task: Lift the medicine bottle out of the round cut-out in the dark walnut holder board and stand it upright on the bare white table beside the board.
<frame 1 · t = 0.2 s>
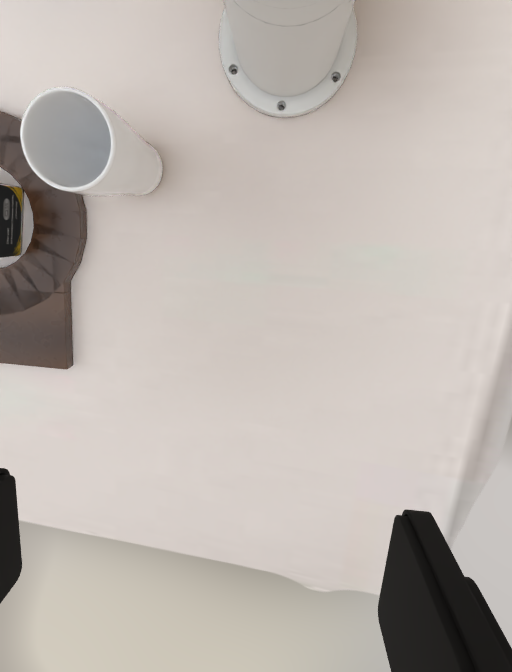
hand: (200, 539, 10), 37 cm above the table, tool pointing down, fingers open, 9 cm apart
drinking glass: (139, 169, 43), on the table
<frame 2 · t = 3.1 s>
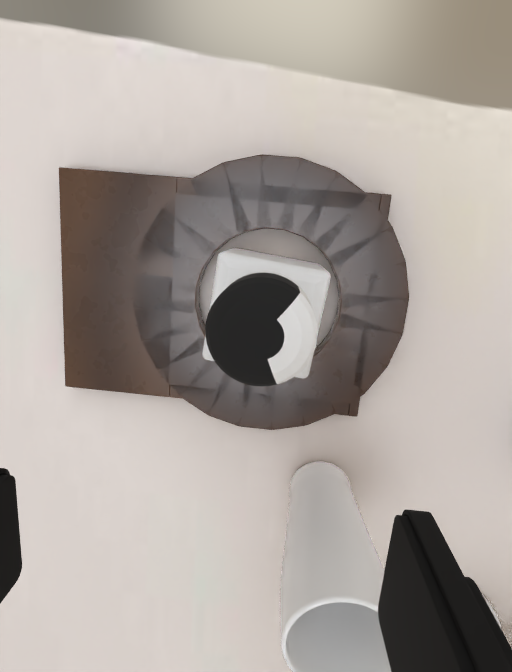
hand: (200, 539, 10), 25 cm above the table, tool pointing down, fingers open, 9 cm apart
drinking glass: (319, 484, 37), on the table
holder board: (218, 295, 34), on the table
medicine bottle: (268, 299, 34), resting in holder board
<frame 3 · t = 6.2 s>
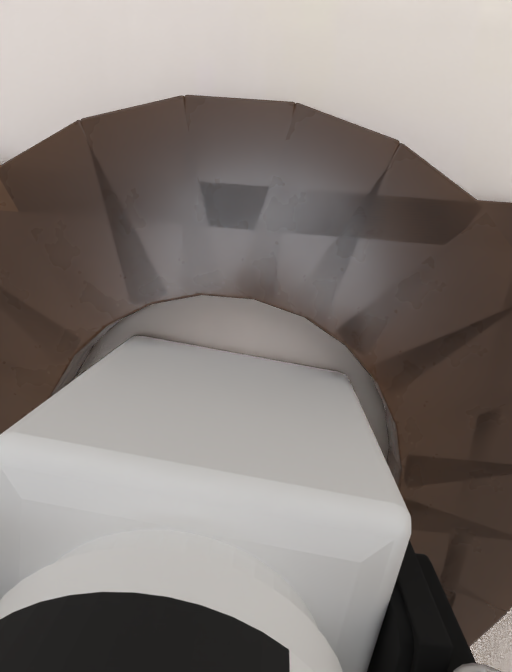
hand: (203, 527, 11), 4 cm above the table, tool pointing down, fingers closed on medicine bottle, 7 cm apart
holder board: (109, 437, 15), on the table
medicine bottle: (224, 445, 15), resting in holder board, touching gripper
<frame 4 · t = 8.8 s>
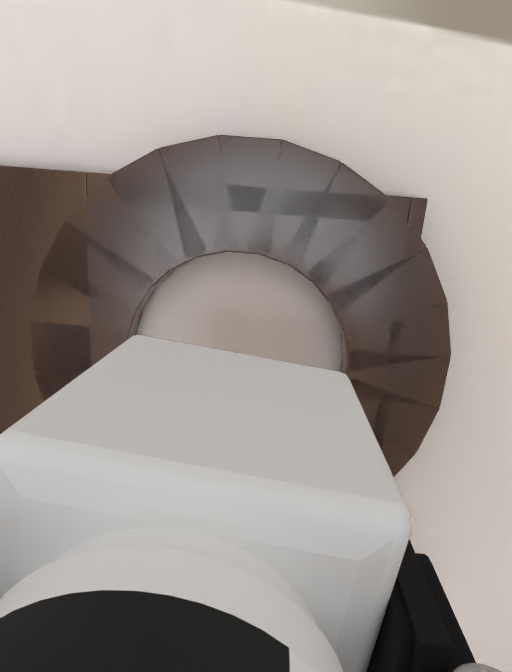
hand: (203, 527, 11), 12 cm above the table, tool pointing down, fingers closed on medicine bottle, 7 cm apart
holder board: (164, 348, 23), on the table
medicine bottle: (224, 445, 15), point 8 cm above the table, touching gripper
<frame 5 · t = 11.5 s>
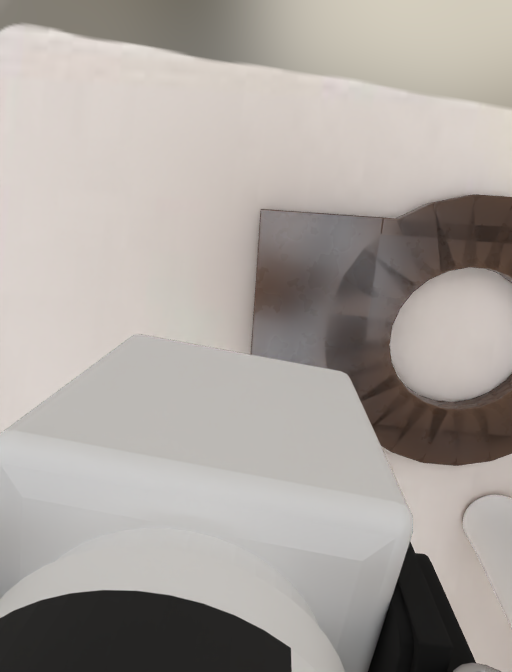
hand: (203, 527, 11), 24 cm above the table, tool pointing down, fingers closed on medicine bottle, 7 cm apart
drinking glass: (490, 516, 37), on the table
holder board: (405, 332, 33), on the table
medicine bottle: (225, 445, 15), point 20 cm above the table, touching gripper
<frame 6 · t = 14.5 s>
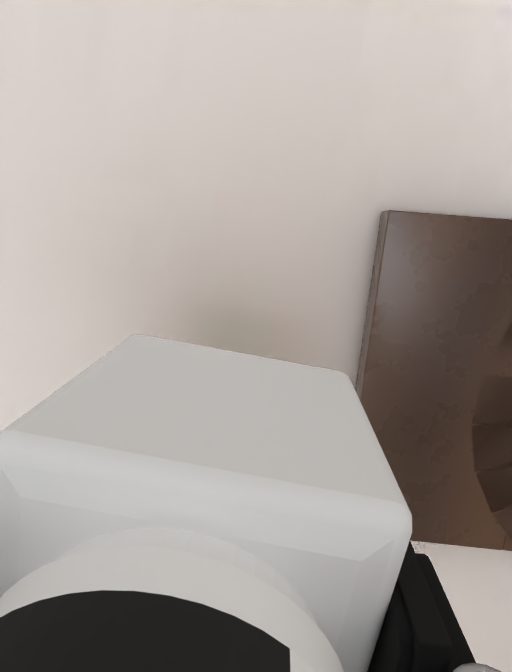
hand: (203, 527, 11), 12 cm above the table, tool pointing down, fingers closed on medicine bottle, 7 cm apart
medicine bottle: (224, 444, 15), point 8 cm above the table, touching gripper
when the fingers open (4 cm above the table, at t = 17.1 s): medicine bottle stays where it is, on the table.
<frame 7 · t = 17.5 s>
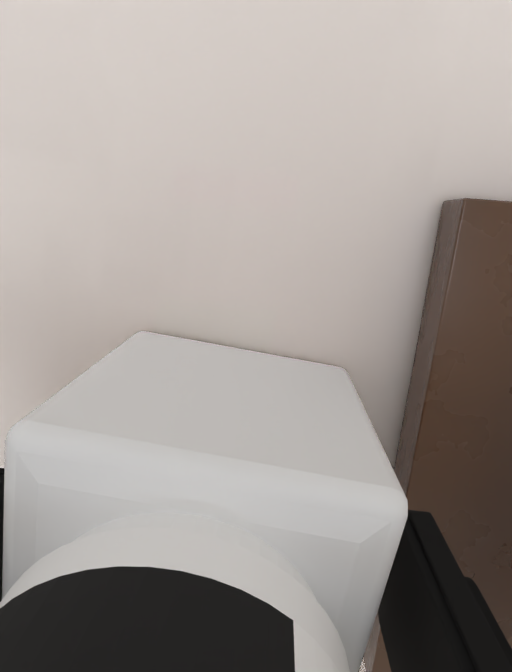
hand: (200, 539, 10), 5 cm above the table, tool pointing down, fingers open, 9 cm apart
medicine bottle: (227, 439, 15), on the table
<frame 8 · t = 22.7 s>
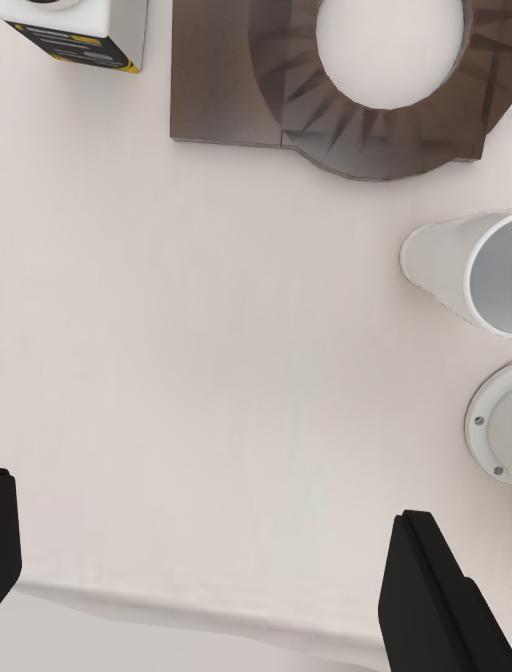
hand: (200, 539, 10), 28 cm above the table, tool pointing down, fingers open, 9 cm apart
drinking glass: (429, 255, 36), on the table
holder board: (334, 30, 32), on the table
medicine bottle: (102, 17, 33), on the table
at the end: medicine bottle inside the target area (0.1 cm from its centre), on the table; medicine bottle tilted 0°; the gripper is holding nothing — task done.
